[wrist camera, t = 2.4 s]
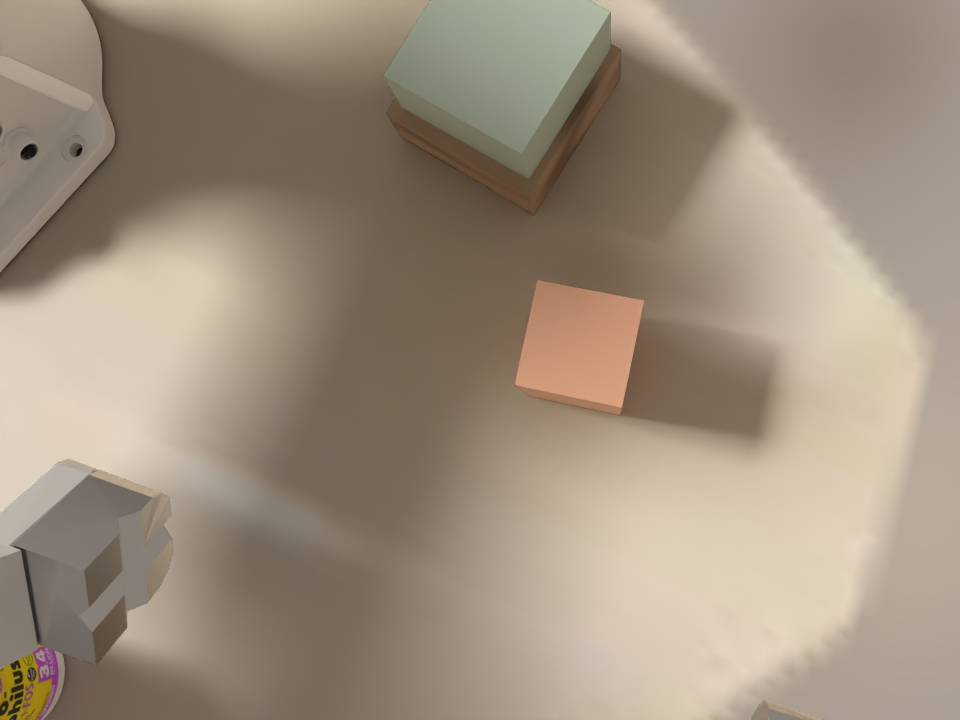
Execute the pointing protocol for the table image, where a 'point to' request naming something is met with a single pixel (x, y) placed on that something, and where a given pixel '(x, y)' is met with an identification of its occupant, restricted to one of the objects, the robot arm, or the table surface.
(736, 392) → the table surface
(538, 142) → the tower top
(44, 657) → the supplement bottle
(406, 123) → the tower base
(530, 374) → the terracotta block
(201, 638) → the table surface
